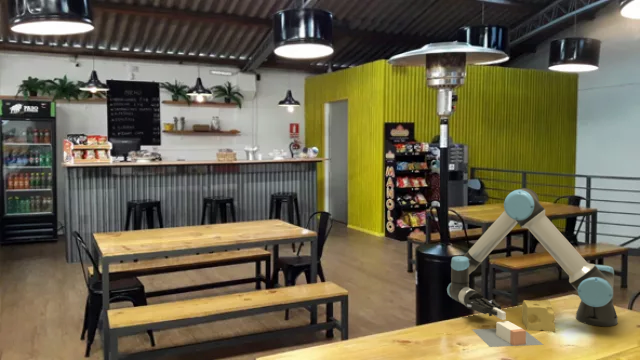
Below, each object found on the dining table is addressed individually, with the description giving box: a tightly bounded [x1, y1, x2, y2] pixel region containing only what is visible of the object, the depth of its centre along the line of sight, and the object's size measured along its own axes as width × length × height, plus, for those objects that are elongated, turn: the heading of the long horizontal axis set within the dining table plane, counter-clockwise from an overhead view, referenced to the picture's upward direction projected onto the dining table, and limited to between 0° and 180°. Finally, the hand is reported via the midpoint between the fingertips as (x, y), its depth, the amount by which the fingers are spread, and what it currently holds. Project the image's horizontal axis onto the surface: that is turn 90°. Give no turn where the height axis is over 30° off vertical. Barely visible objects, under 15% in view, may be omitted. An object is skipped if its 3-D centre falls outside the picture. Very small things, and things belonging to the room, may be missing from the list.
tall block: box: [495, 320, 527, 347], centre depth 197 cm, size 5×5×11 cm
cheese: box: [521, 299, 556, 334], centre depth 211 cm, size 10×11×10 cm
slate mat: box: [471, 327, 545, 348], centre depth 200 cm, size 20×18×1 cm
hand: (503, 316), depth 201 cm, fingers closed
